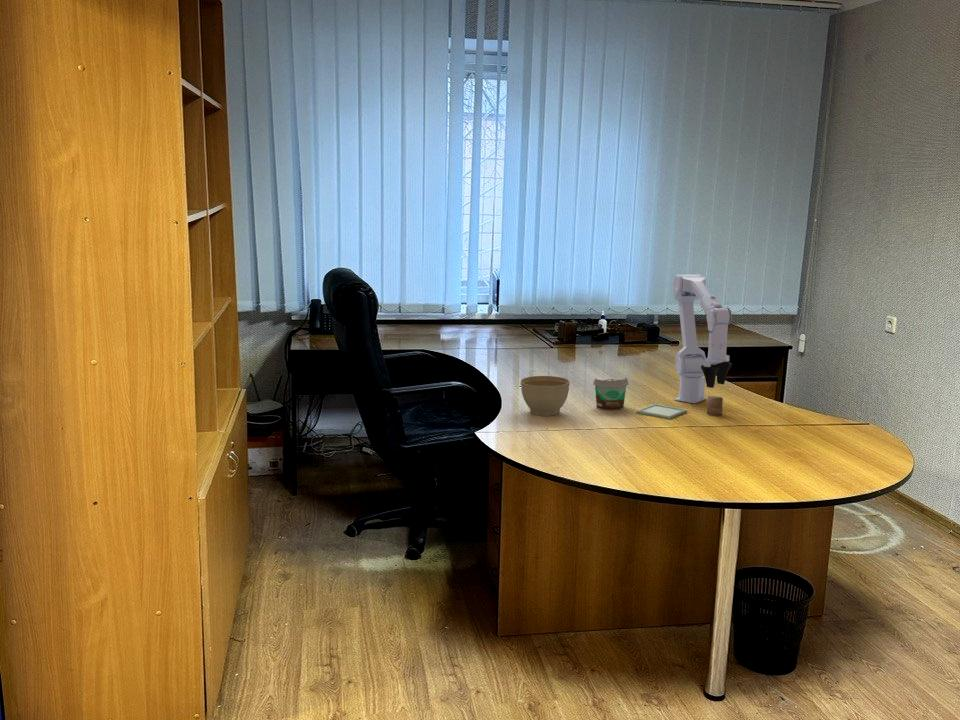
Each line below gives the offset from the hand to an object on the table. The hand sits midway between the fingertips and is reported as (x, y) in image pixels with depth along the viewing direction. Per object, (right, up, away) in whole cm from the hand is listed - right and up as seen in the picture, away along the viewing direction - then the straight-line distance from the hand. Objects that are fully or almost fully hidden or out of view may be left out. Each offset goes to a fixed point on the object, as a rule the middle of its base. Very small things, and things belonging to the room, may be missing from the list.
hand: (715, 385), depth 290 cm
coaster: (-17, -9, +3) cm, 19 cm away
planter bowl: (-56, -9, +2) cm, 57 cm away
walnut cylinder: (0, -9, +2) cm, 10 cm away
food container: (-32, -8, +8) cm, 34 cm away
